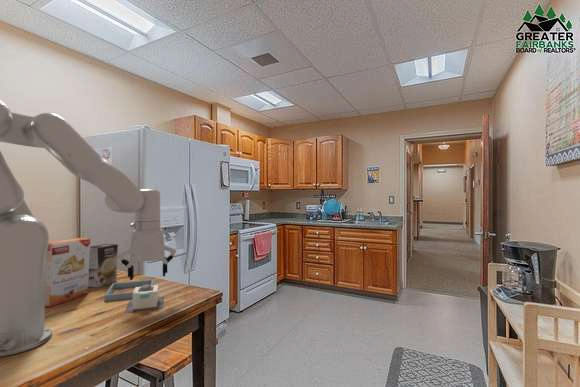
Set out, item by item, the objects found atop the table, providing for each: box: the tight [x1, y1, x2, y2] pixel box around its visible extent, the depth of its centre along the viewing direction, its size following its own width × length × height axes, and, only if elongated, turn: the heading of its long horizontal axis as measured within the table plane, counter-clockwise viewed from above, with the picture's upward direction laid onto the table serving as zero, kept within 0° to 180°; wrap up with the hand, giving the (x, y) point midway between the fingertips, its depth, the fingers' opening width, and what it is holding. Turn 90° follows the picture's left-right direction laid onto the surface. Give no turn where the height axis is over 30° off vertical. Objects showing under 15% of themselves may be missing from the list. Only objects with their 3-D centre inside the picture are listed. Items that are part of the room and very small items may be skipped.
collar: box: [132, 284, 159, 310], centre depth 91 cm, size 9×7×5 cm
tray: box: [103, 279, 155, 303], centre depth 104 cm, size 14×14×3 cm
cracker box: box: [45, 237, 91, 308], centre depth 98 cm, size 14×6×21 cm, turn 168°
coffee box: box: [88, 243, 119, 289], centre depth 116 cm, size 9×6×16 cm
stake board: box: [123, 285, 165, 314], centre depth 92 cm, size 11×11×7 cm
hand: (148, 277), depth 93 cm, fingers open, 9 cm apart
